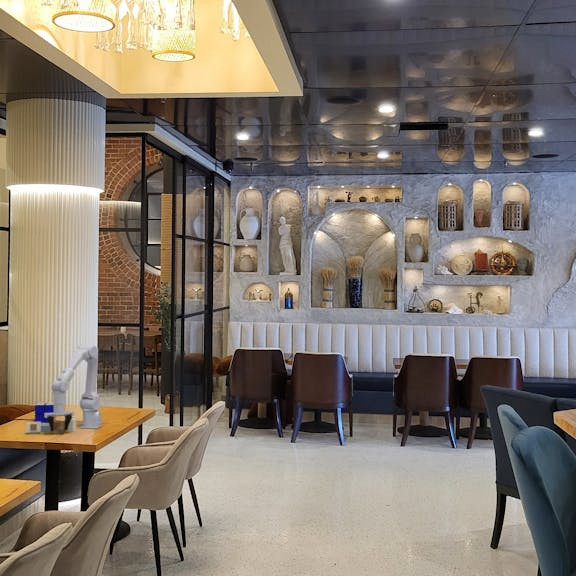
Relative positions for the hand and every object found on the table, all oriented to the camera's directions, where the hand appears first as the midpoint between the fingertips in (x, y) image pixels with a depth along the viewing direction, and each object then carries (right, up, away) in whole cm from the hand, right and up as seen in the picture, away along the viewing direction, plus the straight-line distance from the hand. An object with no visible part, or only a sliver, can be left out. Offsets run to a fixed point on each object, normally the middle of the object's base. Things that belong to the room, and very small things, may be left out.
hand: (59, 430), depth 377 cm
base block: (-9, -2, +9) cm, 13 cm away
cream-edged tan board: (-13, -1, 0) cm, 13 cm away
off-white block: (+3, -2, +10) cm, 10 cm away
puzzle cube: (-19, -2, +35) cm, 40 cm away
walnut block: (0, -2, 0) cm, 2 cm away
